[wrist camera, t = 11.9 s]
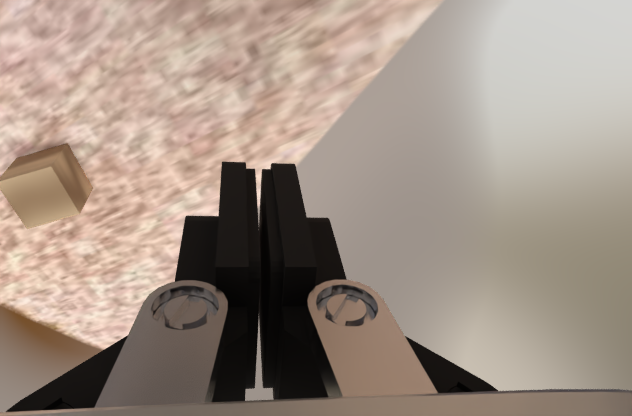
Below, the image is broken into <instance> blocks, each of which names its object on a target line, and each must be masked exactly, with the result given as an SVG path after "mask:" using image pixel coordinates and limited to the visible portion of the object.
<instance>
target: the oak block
mask: <svg viewBox="0 0 632 416" xmlns="http://www.w3.org/2000/svg"><path fill="white" fill-rule="evenodd" d="M92 189H93V187H92V186H91V184H90V182H89V180H88V179H87V177H86V175H85V173H84V171H83V170H82V168H81V166H80V164H79V163H78V161H77V159H76V157H75V156H74V154H73V152H72V150H71V149H70V147H69V145H68V143H67V144H63V145H60V146H57V147H53V148H50V149H46V150H43V151H40V152H36V153H33V154H29V155H26V156H23V157H19V158H16V160H15V161H14V162H13V163H12V164H11V165H10V167H9V168H8V169H7V170H6V171H5V172H4V173H3V175H2V176H1V177H0V190H1V191H2V193H3V194H4V196H5V197H6V199H7V200H8V202H9V203H10V205H11V206H12V208H13V209H14V210H15V212H16V213H17V215H18V216H19V218H20V219H21V221H22V222H23V224H24V225H25V227H26V228H27V229H29V228H33V227H36V226H40V225H43V224H47V223H50V222H54V221H57V220H60V219H64V218H67V217H71V216H74V215H78V214H80V212H81V210H82V209H83V207H84V205H85V203H86V201H87V199H88V197H89V195H90V193H91V191H92Z"/></svg>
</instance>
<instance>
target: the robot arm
mask: <svg viewBox="0 0 632 416" xmlns="http://www.w3.org/2000/svg"><path fill="white" fill-rule="evenodd" d="M259 221H260V222H259V225H258V209H257V193H256V177H255V169H246V163H245V162H222V171H221V187H220V203H219V216H186V218H185V223H184V229H183V235H182V241H181V247H180V253H179V259H178V265H177V271H176V277H175V282H172V283H169V284H166V285H164V286H162V287H159V288H158V289H156V290H155V291H153V292H152V293H151V294H149V296H148V297H147V299H146V300H145V301H144V303H143V305H142V307H141V309H140V311H139V313H138V315H137V318H136V320H135V322H134V324H133V326H132V328H131V330H130V332H129V335H128V336H126V337H124V338H123V339H121V340H120V341H118V342H116V343H115V344H113V345H111V346H110V347H108V348H106V349H105V350H103V351H101V352H100V353H98V354H97V355H95V356H93V357H92V358H90V359H88V360H86V361H85V362H83V363H82V364H80V365H78V366H77V367H75V368H73V369H72V370H70V371H68V372H67V373H65V374H63V375H62V376H60V377H58V378H57V379H55V380H53V381H52V382H50V383H48V384H47V385H45V386H44V387H42V388H40V389H39V390H37V391H35V392H34V393H32V394H31V395H29V396H27V397H25V398H24V399H22V400H20V401H19V402H18V403H16V404H15V405H14V406H12V407H11V408H10V409H9V410H7V411H6V412H0V416H632V390H620V389H546V390H518V391H517V390H516V391H498V390H497V389H495V388H494V387H493V386H491V385H490V384H488V383H487V382H485V381H484V380H482V379H480V378H478V377H476V376H475V375H473V374H471V373H469V372H467V371H466V370H464V369H462V368H460V367H459V366H457V365H455V364H454V363H452V362H450V361H448V360H446V359H445V358H443V357H441V356H439V355H438V354H435V353H434V352H432V351H430V350H429V349H427V348H425V347H423V346H422V345H420V344H418V343H416V342H415V341H413V340H411V339H409V338H408V337H406V336H404V334H403V332H402V331H401V329H400V327H399V325H398V324H397V322H396V320H395V319H394V317H393V315H392V313H391V312H390V310H389V308H388V307H387V305H386V303H385V301H384V300H383V299H382V298H381V296H380V295H379V294H378V293H377V292H376V291H374V290H373V289H372V288H370V287H369V286H367V285H364V284H362V283H359V282H355V281H351V280H347V279H346V276H345V272H344V269H343V265H342V262H341V258H340V255H339V251H338V248H337V244H336V241H335V237H334V234H333V231H332V227H331V223H330V220H329V219H328V218H307V217H306V213H305V208H304V203H303V199H302V194H301V190H300V185H299V180H298V175H297V171H296V166H295V164H277V163H272V164H271V169H262V179H261V199H260V220H259ZM258 316H259V317H258ZM258 319H259V320H260V340H261V360H262V381H263V388H273V398H274V400H256V401H245V389H249V388H251V389H252V388H255V373H256V355H257V337H258Z"/></svg>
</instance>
